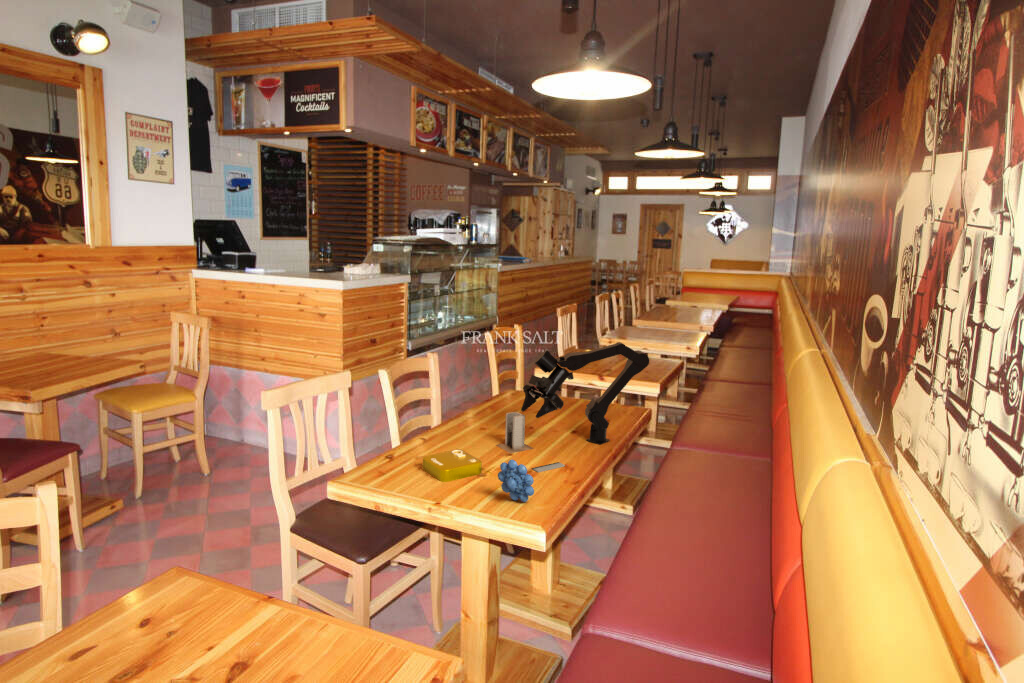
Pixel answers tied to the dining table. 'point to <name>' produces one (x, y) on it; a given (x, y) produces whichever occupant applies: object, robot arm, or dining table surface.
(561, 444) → the dining table surface
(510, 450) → the walnut stand
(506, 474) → the blue ball cluster
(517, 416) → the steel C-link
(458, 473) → the element tile
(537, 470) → the slate mat
